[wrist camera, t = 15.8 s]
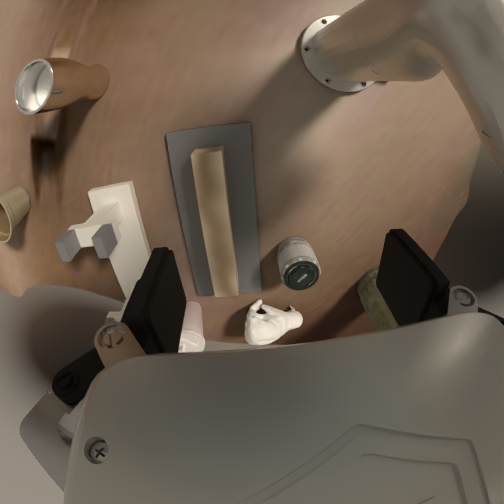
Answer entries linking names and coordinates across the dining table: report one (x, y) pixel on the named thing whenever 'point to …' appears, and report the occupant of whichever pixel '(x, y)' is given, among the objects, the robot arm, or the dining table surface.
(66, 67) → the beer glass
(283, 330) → the white animal figurine
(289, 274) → the camera lens
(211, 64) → the dining table surface
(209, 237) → the rail
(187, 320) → the smoothie
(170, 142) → the mat
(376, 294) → the thermos
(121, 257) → the hook stand
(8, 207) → the flower pot
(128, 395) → the robot arm
